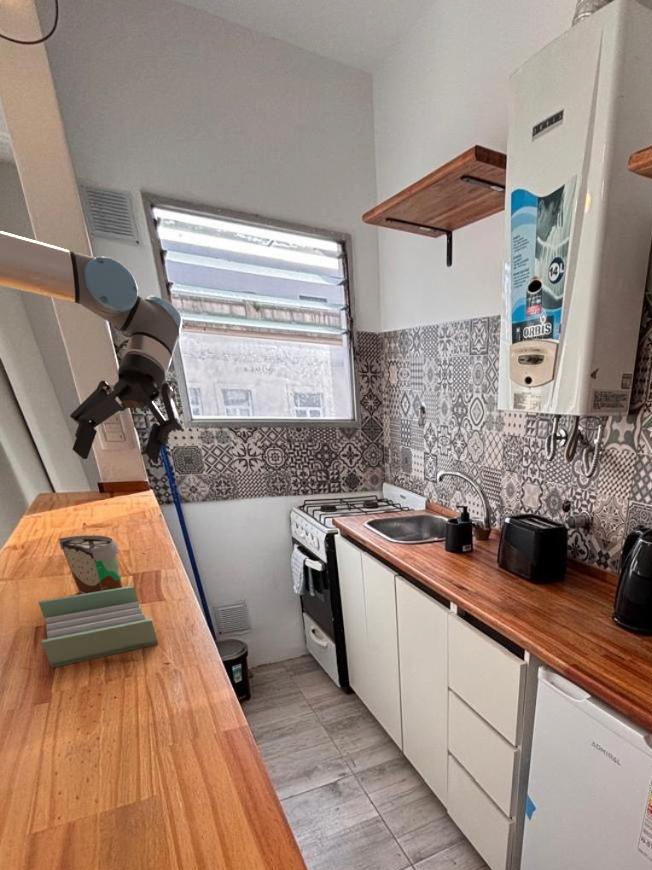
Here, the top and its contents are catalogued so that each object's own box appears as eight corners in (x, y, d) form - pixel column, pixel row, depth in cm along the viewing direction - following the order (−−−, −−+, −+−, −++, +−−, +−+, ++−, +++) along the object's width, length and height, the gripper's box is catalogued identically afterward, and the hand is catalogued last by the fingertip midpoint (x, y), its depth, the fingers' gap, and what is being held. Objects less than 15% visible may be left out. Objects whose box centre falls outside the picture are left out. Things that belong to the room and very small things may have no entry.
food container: (144, 594, 96) (130, 542, 92) (109, 604, 92) (93, 549, 87) (109, 581, 102) (94, 531, 97) (74, 590, 97) (57, 537, 93)
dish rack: (46, 623, 84) (38, 601, 82) (139, 606, 91) (133, 585, 89) (51, 668, 71) (41, 642, 69) (158, 644, 79) (152, 620, 77)
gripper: (215, 384, 106) (191, 470, 99) (97, 380, 107) (65, 466, 100) (196, 353, 99) (169, 444, 92) (69, 349, 100) (33, 439, 93)
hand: (115, 455), depth 96 cm, fingers open, 13 cm apart
